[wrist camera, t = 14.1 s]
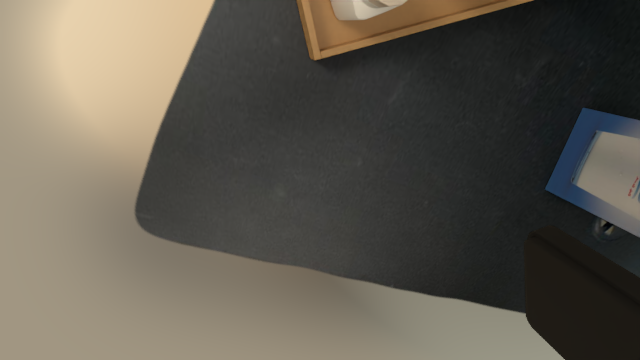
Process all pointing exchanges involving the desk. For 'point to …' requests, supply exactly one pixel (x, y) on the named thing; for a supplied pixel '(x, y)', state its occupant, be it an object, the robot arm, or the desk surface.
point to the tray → (383, 22)
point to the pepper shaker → (362, 8)
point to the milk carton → (602, 168)
